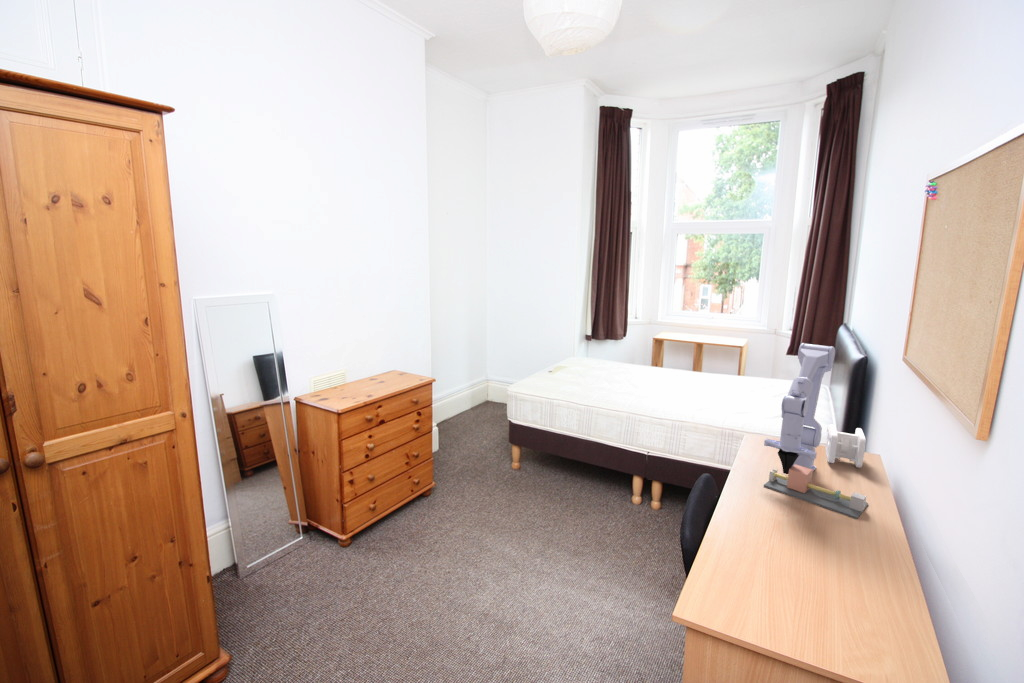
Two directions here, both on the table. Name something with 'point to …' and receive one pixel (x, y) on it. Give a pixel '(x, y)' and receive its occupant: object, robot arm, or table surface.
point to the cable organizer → (845, 445)
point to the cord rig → (820, 496)
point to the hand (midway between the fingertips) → (786, 472)
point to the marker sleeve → (799, 478)
